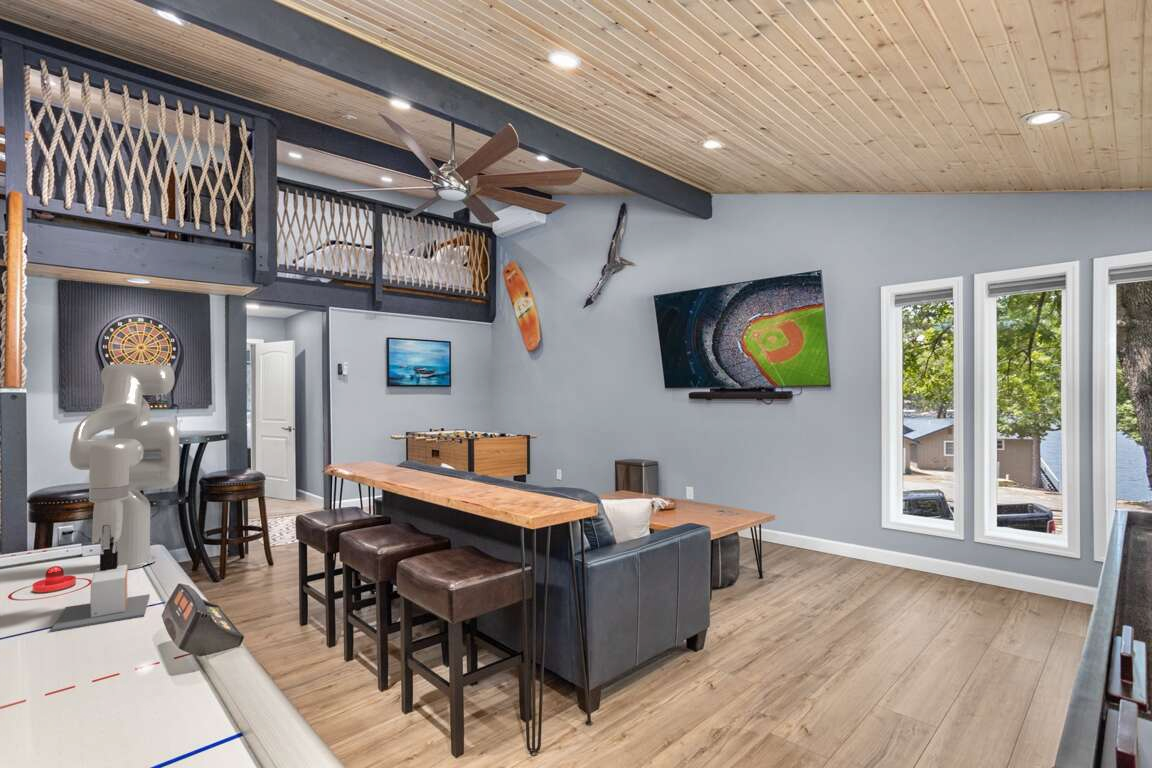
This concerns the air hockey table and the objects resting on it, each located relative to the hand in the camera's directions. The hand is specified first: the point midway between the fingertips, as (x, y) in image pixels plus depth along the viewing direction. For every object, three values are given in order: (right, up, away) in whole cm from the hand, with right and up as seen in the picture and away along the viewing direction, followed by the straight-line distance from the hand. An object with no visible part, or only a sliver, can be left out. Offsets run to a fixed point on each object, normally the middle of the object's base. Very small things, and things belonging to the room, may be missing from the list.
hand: (108, 569), depth 141 cm
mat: (+3, -8, -5) cm, 11 cm away
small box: (-1, -4, +2) cm, 5 cm away
